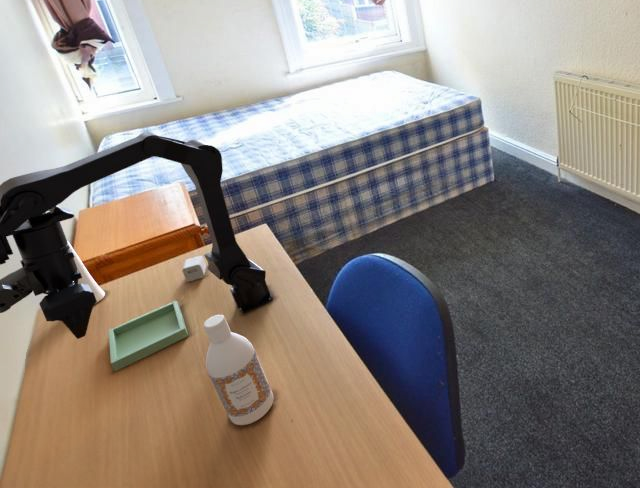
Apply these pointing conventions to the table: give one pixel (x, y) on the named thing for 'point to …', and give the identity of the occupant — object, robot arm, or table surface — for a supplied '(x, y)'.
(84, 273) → the cosmetic bottle
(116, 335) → the toiletries tray
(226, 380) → the bath foam
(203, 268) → the usb wall charger
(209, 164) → the robot arm
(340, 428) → the table surface
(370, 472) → the table surface
